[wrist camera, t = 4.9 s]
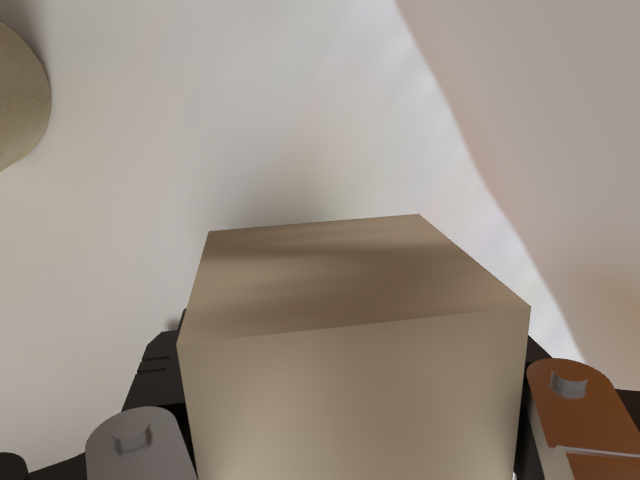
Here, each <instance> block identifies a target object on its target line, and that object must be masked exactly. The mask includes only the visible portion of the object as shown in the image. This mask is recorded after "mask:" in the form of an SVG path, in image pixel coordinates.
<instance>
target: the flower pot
mask: <svg viewBox="0 0 640 480" xmlns="http://www.w3.org/2000/svg"><path fill="white" fill-rule="evenodd" d="M50 113H51V94H50V87H49V83H48V79H47V76H46V73H45V71H44V68H43V66H42V64H41V63H40V61H39V60H38V59H37V57H36V56H35V54H34V53H33V52H32V50H31V49H30V47H29V46H28V45H27V44H26V43H25V41H24V40H23V39H22V38H21V37H20V36H19V35H18V34H17V33H16V32H15V31H14V30H13V29H12V28H10V27H9V26H8V25H6V24H5V23H4V22H2V21H0V172H1V171H2V170H4V169H5V168H7V167H8V166H10V165H11V164H13V163H14V162H17V161H19V160H20V159H22V158H23V157H25V156H26V155H27V154H28V153H30V152H31V151H32V149H33V148H34V147H35V146H36V145H37V144H38V143H39V141H40V140H41V138H42V137H43V135H44V133H45V131H46V128H47V126H48V122H49V118H50Z"/></svg>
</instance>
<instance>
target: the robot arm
mask: <svg viewBox="0 0 640 480" xmlns="http://www.w3.org/2000/svg"><path fill="white" fill-rule="evenodd" d="M186 309H187V308H185V309H184V311H183V314H182V317H181V321H180V324H179V327H178V330H175V331H165V332H161V333H160V334H159V335H158V336H157V337H156V338H154V339H153V340H152V341H151V342H150V343H149V344H148V345H147V347H146V350H145V352H144V355H143V357H142V362H140V365H139V368H138V370H137V374H136V375H135V378H134V380H133V383H132V385H131V388H130V390H129V393H128V395H127V398H126V401H125V403H124V406H123V408H122V411H121V413H118V414H116V415H114V416H112V417H111V418H109V419H107V420H106V421H104V422H103V423H102V424H100V425H99V426H98V427H97V428H96V429H95V430H94V431H93V432H92V434H91V435H90V437H89V438H88V440H87V443H86V446H85V452H84V453H82V454H80V455H78V456H76V457H73V458H71V459H68V460H66V461H63V462H60V463H57V464H54V465H51V466H48V467H45V468H42V469H40V470H37V471H34V472H31V473H29V472H28V469H27V466H26V463H25V461H24V459H23V458H22V457H20V456H19V455H16V454H13V453H7V452H1V453H0V480H198V474H197V468H196V462H195V455H194V449H193V443H192V437H191V431H190V425H189V419H188V413H187V407H186V401H185V395H184V389H183V383H182V377H181V371H180V365H179V359H178V353H177V346H176V344H177V340H178V337H179V333H180V330H181V326H182V323H183V319H184V316H185V312H186ZM513 471H514V473H515V478H514V480H640V391H631V390H620V389H615V388H614V386H613V385H612V383H611V382H610V380H609V379H608V378H607V377H606V376H605V375H603V374H602V373H601V372H599V371H598V370H596V369H594V368H592V367H590V366H588V365H585V364H583V363H580V362H576V361H573V360H568V359H561V358H552V357H551V356H550V355H549V354H548V353H547V352H546V351H545V350H544V349H543V348H542V347H541V346H539V345H538V344H537V343H536V342H535V341H534V340H533V339H532V338H531V337H530V336H529V335H528V339H527V348H526V358H525V367H524V376H523V385H522V395H521V404H520V413H519V422H518V432H517V441H516V450H515V459H514V469H513Z"/></svg>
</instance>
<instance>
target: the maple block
mask: <svg viewBox="0 0 640 480" xmlns="http://www.w3.org/2000/svg"><path fill="white" fill-rule="evenodd" d="M530 311H531V306H530V305H529V304H527V303H526V302H525V301H524V300H522V299H521V298H520V297H519V296H518V295H516V294H515V293H514V292H513V291H512V290H510V289H509V288H508V287H507V286H505V285H504V284H503V283H502V282H501V281H499V280H498V279H497V278H496V277H495V276H493V275H492V274H491V273H490V272H488V271H487V270H486V269H485V268H484V267H482V266H481V265H480V264H479V263H478V262H476V261H475V260H474V259H473V258H471V257H470V256H469V255H468V254H467V253H465V252H464V251H463V250H462V249H461V248H459V247H458V246H457V245H456V244H454V243H453V242H452V241H451V240H450V239H448V238H447V237H446V236H445V235H444V234H442V233H441V232H440V231H439V230H437V229H436V228H435V227H434V226H433V225H431V224H430V223H429V222H428V221H427V220H425V219H424V218H423V217H422V216H420V215H419V214H412V215H400V216H388V217H376V218H364V219H352V220H340V221H328V222H316V223H304V224H292V225H280V226H267V227H255V228H243V229H231V230H219V231H209V233H208V236H207V240H206V243H205V247H204V250H203V254H202V257H201V261H200V264H199V267H198V271H197V274H196V278H195V281H194V285H193V288H192V292H191V295H190V299H189V302H188V306H187V309H186V312H185V316H184V319H183V323H182V326H181V330H180V333H179V337H178V340H177V344H176V346H177V353H178V359H179V365H180V371H181V377H182V383H183V389H184V395H185V401H186V407H187V413H188V419H189V425H190V431H191V437H192V443H193V449H194V455H195V462H196V468H197V474H198V480H512V478H513V469H514V459H515V450H516V441H517V432H518V422H519V413H520V404H521V395H522V385H523V376H524V367H525V358H526V348H527V339H528V330H529V321H530Z"/></svg>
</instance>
